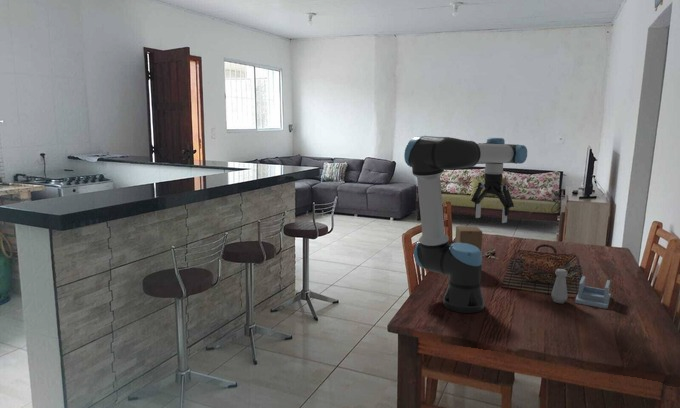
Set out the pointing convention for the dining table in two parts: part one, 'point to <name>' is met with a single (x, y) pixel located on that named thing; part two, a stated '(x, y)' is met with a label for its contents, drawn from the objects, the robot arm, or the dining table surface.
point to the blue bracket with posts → (593, 295)
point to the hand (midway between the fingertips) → (490, 220)
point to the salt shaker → (560, 287)
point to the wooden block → (469, 235)
